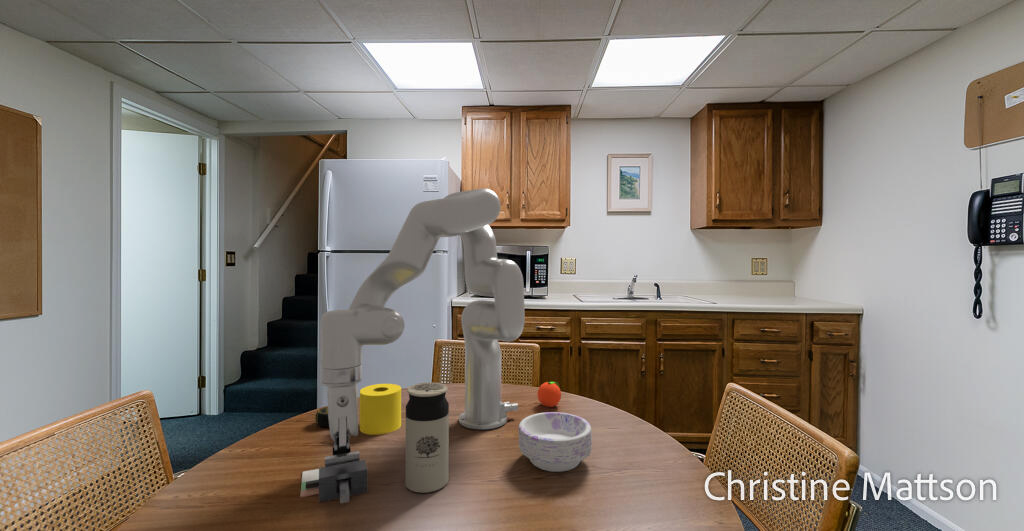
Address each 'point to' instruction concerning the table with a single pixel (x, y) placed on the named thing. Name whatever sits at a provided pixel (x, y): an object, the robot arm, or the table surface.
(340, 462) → the grey t-shaped piece
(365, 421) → the tape roll
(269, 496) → the table surface
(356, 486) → the block
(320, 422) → the tape measure
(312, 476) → the scale strip
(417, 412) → the travel mug
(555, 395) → the clementine
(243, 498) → the table surface
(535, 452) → the paper bowls
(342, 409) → the robot arm
